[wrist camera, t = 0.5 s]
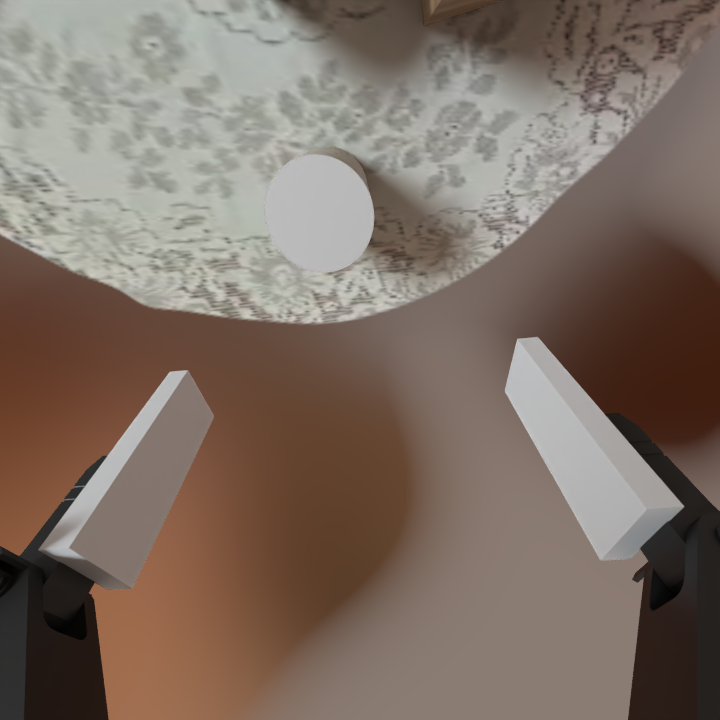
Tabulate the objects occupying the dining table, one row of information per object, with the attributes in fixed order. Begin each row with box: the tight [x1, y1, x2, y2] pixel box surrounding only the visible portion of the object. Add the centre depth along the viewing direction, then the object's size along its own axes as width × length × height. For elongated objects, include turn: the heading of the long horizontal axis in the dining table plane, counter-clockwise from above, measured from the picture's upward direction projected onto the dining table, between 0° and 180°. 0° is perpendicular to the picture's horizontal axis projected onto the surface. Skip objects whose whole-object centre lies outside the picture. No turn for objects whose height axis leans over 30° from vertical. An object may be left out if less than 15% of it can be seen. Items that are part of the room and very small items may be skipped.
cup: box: [264, 146, 374, 272], centre depth 28 cm, size 8×8×12 cm
